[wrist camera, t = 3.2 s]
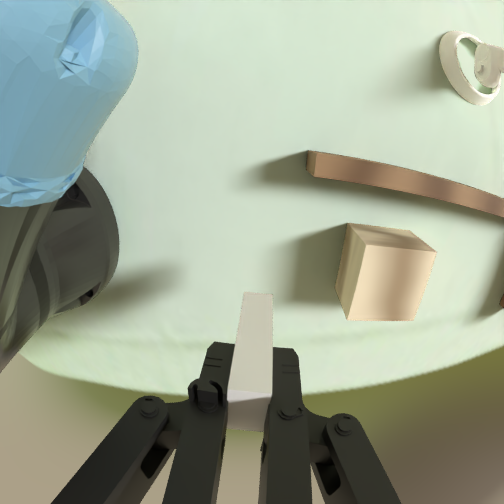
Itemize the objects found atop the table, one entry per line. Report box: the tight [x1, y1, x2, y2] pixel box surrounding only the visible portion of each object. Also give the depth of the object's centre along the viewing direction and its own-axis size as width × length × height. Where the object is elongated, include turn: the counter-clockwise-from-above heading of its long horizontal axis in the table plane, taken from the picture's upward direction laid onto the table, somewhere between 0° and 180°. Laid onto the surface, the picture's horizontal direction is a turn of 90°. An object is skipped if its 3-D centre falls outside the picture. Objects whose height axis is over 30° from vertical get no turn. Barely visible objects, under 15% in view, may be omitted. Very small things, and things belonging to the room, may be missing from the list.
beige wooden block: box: [335, 223, 437, 321], centre depth 21 cm, size 6×6×5 cm
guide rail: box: [306, 150, 504, 308], centre depth 20 cm, size 32×12×5 cm, turn 85°
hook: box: [439, 31, 504, 105], centre depth 12 cm, size 8×12×7 cm
